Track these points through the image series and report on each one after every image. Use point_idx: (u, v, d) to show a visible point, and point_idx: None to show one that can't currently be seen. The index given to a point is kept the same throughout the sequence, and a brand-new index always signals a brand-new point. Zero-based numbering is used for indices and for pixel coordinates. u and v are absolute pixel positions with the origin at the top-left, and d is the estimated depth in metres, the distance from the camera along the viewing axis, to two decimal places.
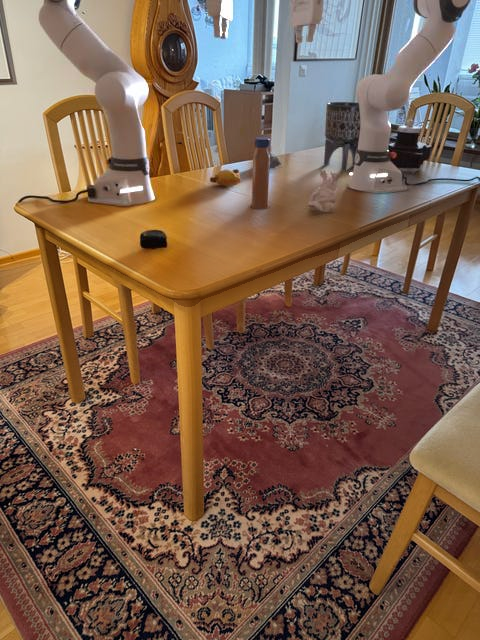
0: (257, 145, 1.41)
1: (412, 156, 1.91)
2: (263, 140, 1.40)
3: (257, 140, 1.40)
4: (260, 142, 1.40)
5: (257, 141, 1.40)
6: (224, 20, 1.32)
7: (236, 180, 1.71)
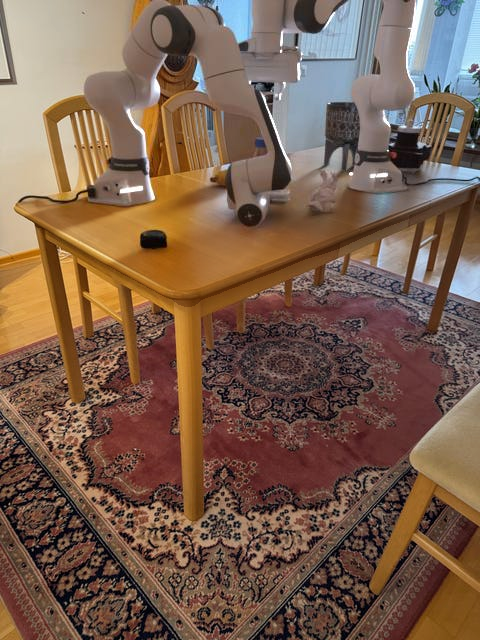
0: (257, 145, 1.41)
1: (412, 156, 1.91)
2: (263, 140, 1.40)
3: (257, 140, 1.40)
4: (260, 142, 1.40)
5: (257, 141, 1.40)
6: None
7: None
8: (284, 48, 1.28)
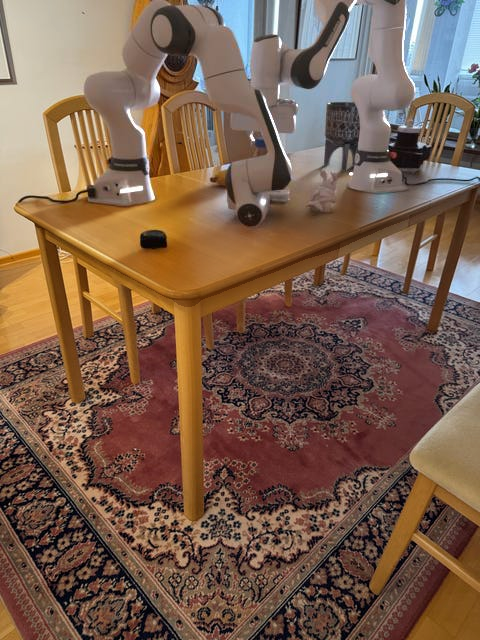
0: (257, 145, 1.41)
1: (412, 156, 1.91)
2: (263, 140, 1.40)
3: (257, 140, 1.40)
4: (260, 142, 1.40)
5: (257, 141, 1.40)
6: None
7: None
8: (281, 101, 1.34)
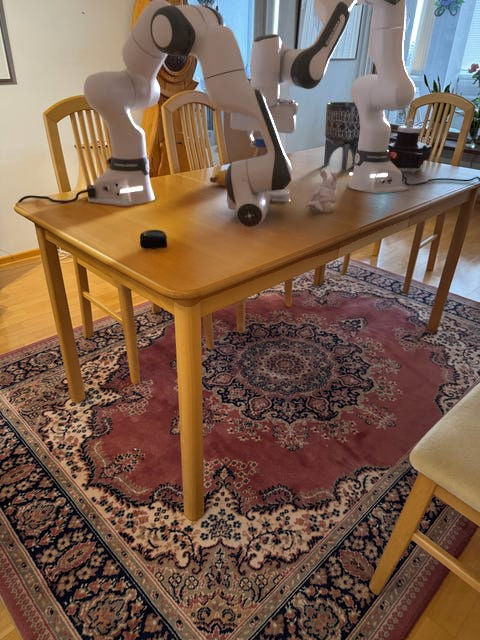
0: (265, 145, 1.41)
1: (412, 156, 1.91)
2: None
3: None
4: None
5: None
6: None
7: None
8: (281, 101, 1.34)
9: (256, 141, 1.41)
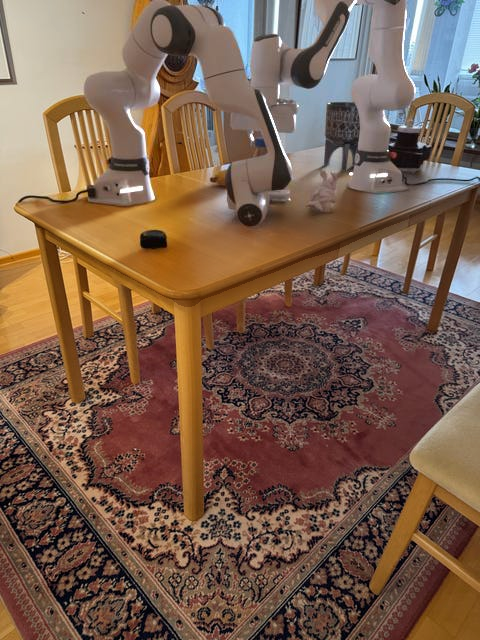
0: None
1: (412, 156, 1.91)
2: None
3: None
4: None
5: None
6: None
7: None
8: (281, 101, 1.34)
9: None
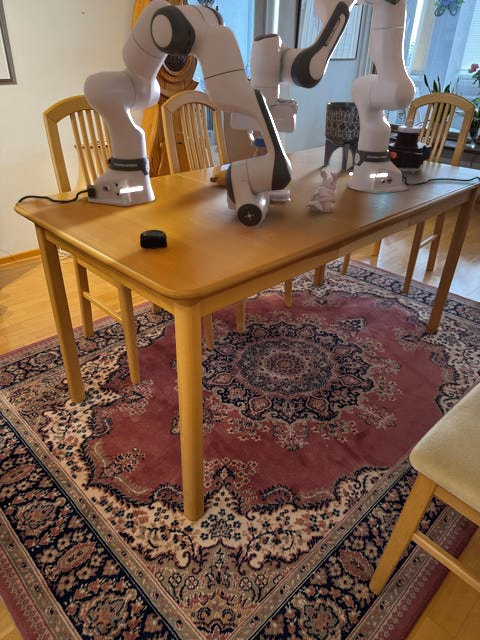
0: None
1: (412, 156, 1.91)
2: None
3: None
4: None
5: None
6: None
7: None
8: (281, 100, 1.34)
9: None
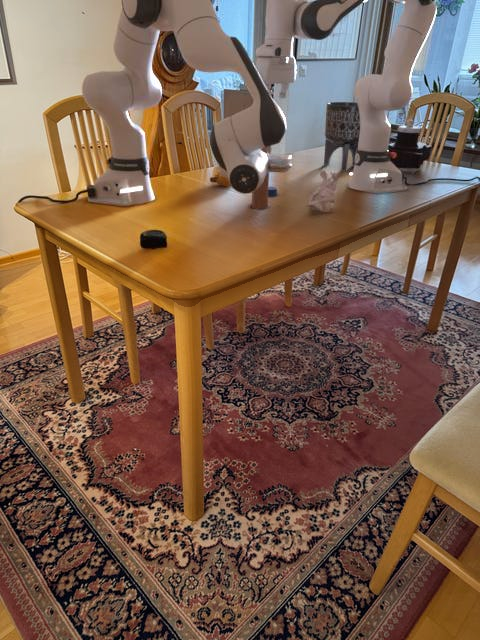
0: (274, 194, 1.64)
1: (412, 156, 1.91)
2: (276, 189, 1.65)
3: (274, 190, 1.63)
4: (276, 191, 1.64)
5: (274, 191, 1.63)
6: None
7: None
8: None
9: None
